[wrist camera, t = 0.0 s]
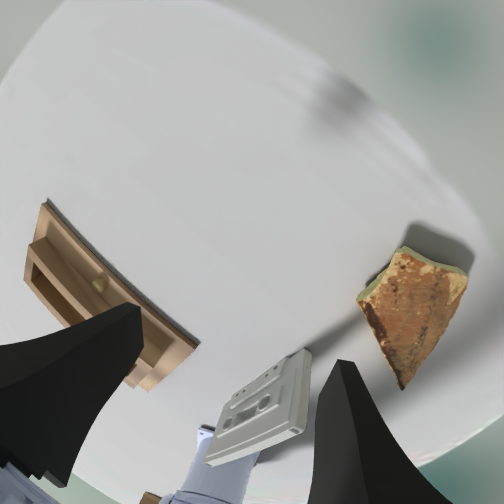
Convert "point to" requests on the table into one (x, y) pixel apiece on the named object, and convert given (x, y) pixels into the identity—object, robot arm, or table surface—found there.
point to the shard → (411, 308)
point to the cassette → (264, 411)
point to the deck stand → (149, 499)
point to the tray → (96, 296)
